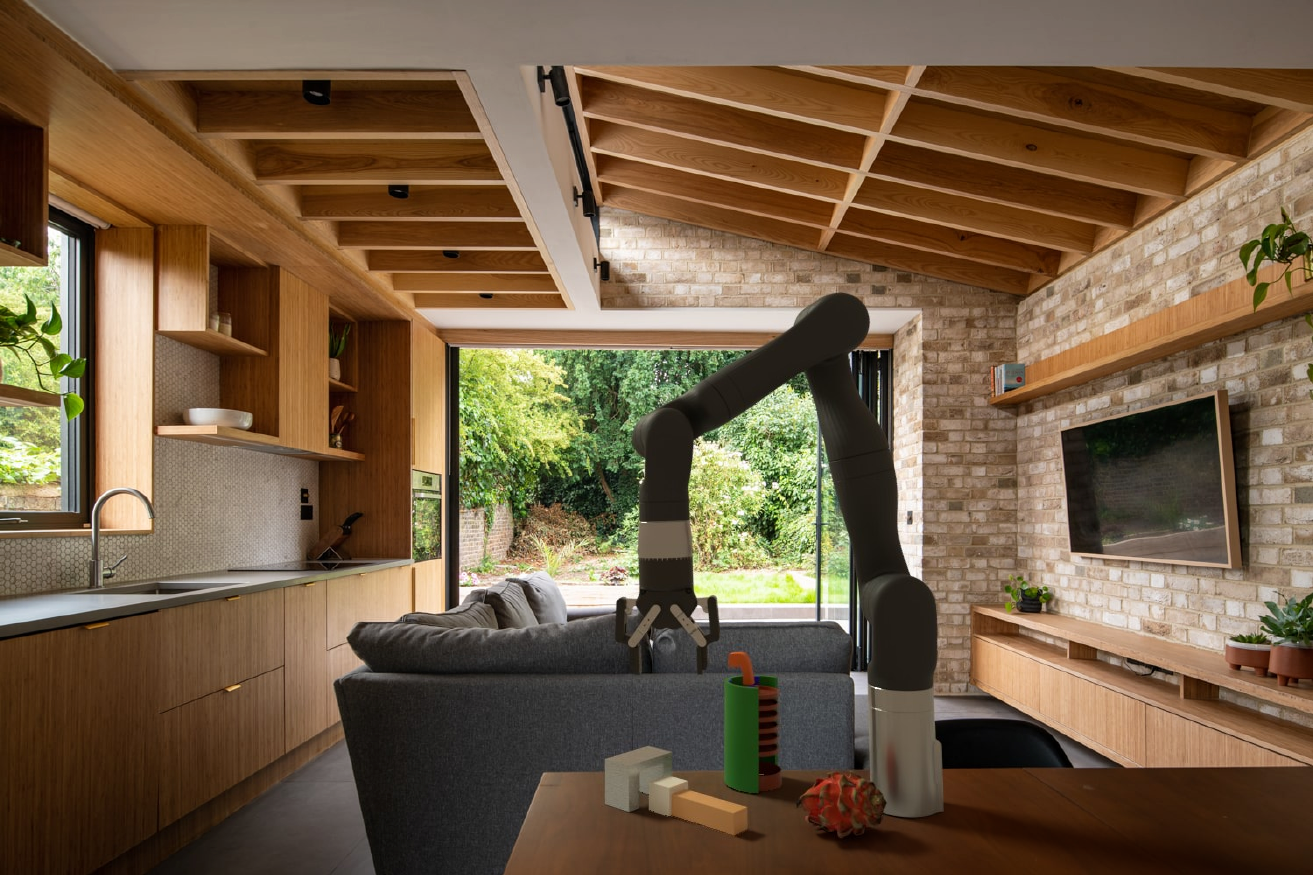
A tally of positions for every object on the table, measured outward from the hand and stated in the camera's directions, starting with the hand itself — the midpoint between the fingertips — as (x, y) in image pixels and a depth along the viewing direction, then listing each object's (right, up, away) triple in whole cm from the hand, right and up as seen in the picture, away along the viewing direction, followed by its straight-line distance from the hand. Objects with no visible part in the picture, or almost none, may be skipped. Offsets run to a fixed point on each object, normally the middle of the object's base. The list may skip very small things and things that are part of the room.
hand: (669, 673), depth 116 cm
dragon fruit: (+23, -21, -3) cm, 31 cm away
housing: (-4, -22, +10) cm, 24 cm away
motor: (+13, -22, +17) cm, 31 cm away
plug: (+4, -21, +2) cm, 21 cm away
